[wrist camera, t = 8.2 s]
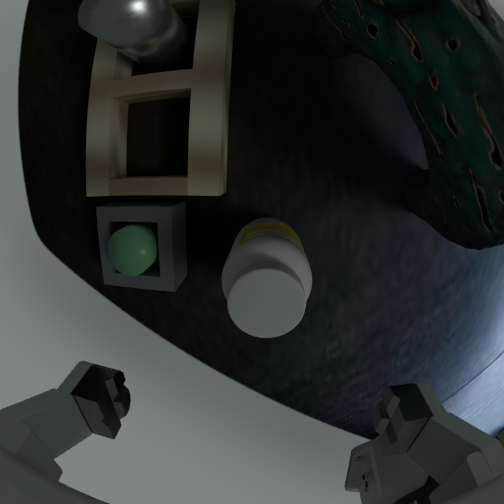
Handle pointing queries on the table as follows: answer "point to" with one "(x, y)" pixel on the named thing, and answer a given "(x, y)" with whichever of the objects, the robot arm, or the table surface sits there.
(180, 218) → the button box
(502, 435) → the supplement bottle
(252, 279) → the supplement bottle
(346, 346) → the table surface
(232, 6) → the rack
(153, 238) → the button
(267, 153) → the table surface
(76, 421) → the robot arm
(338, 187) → the table surface
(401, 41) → the green curved lump
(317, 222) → the table surface
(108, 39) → the seated billet
